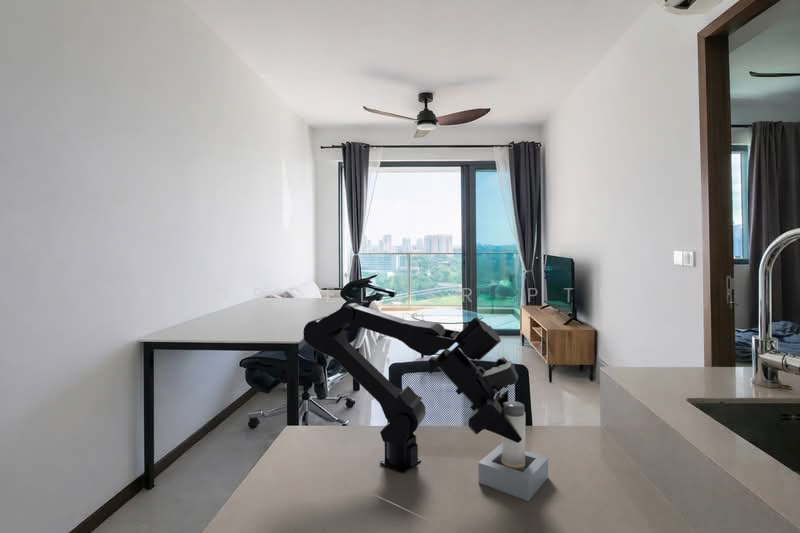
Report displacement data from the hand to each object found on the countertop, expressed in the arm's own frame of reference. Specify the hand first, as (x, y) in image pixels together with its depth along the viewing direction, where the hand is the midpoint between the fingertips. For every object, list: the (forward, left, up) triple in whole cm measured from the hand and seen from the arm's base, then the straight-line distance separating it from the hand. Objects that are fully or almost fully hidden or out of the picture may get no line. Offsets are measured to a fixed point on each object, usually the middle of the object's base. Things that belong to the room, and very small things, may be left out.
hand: (520, 435), depth 84 cm
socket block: (-1, 0, -9) cm, 9 cm away
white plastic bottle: (-1, 0, -7) cm, 7 cm away
